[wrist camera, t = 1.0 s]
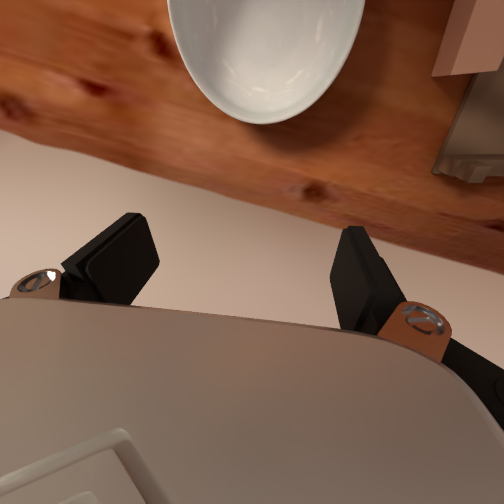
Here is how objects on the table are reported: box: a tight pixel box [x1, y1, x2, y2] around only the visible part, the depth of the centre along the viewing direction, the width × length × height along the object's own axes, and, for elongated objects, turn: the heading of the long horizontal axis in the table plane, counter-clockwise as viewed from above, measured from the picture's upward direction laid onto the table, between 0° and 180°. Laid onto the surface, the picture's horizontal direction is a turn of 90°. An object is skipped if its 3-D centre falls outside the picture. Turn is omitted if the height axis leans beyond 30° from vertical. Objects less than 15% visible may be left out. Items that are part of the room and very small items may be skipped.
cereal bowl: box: [167, 0, 365, 124], centre depth 21 cm, size 17×17×7 cm
